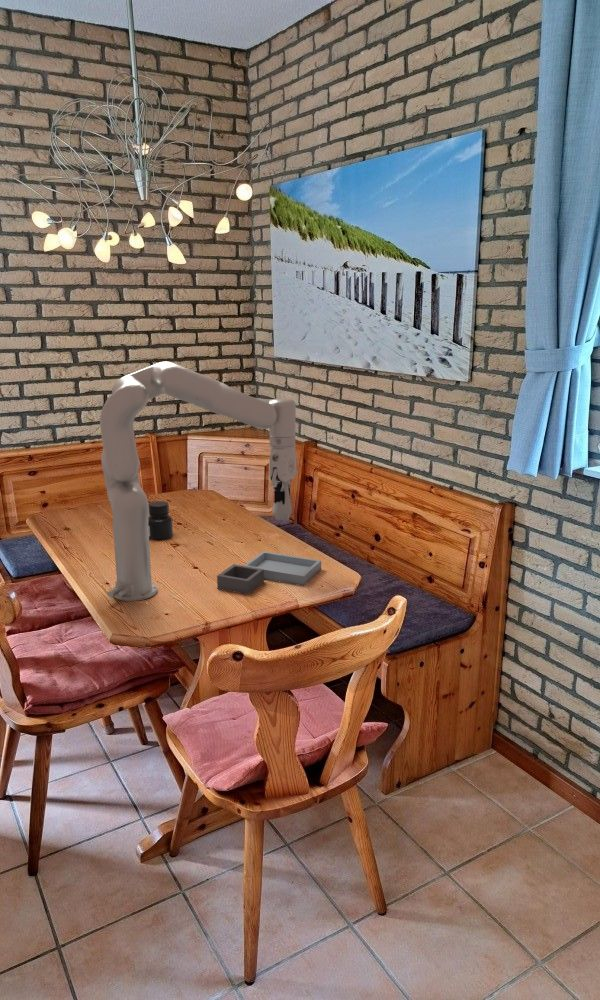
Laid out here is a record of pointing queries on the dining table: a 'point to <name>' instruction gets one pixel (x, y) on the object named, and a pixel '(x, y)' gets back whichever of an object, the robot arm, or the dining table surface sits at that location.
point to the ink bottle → (159, 521)
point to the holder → (240, 579)
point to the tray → (286, 567)
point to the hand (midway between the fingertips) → (282, 501)
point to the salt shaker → (282, 510)
